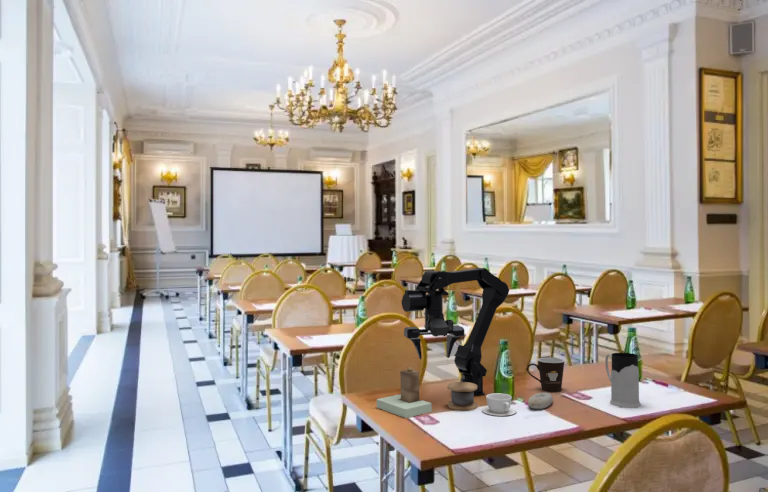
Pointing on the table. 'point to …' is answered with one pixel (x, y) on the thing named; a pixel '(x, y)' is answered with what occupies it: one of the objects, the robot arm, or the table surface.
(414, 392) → the tab block
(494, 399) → the teacup
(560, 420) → the table surface
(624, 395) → the glass holder
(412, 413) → the notched board
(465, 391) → the spool
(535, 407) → the decorative stone
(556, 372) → the coffee mug
